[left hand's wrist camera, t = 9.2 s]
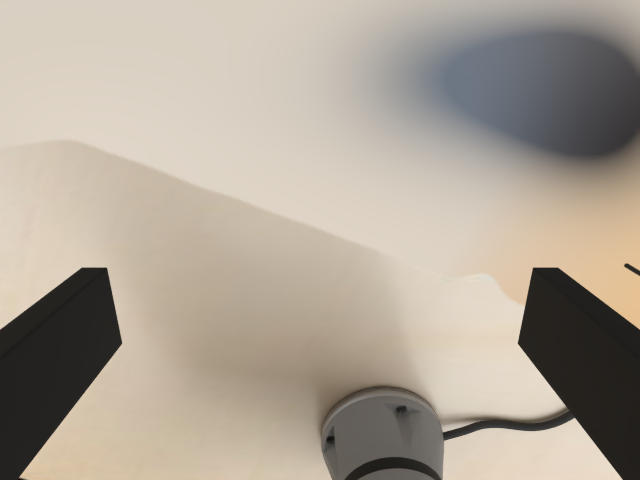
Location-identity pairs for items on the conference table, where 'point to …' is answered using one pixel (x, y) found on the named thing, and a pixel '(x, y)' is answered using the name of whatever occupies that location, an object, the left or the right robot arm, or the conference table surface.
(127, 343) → the conference table surface
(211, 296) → the conference table surface
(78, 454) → the conference table surface
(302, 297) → the conference table surface
